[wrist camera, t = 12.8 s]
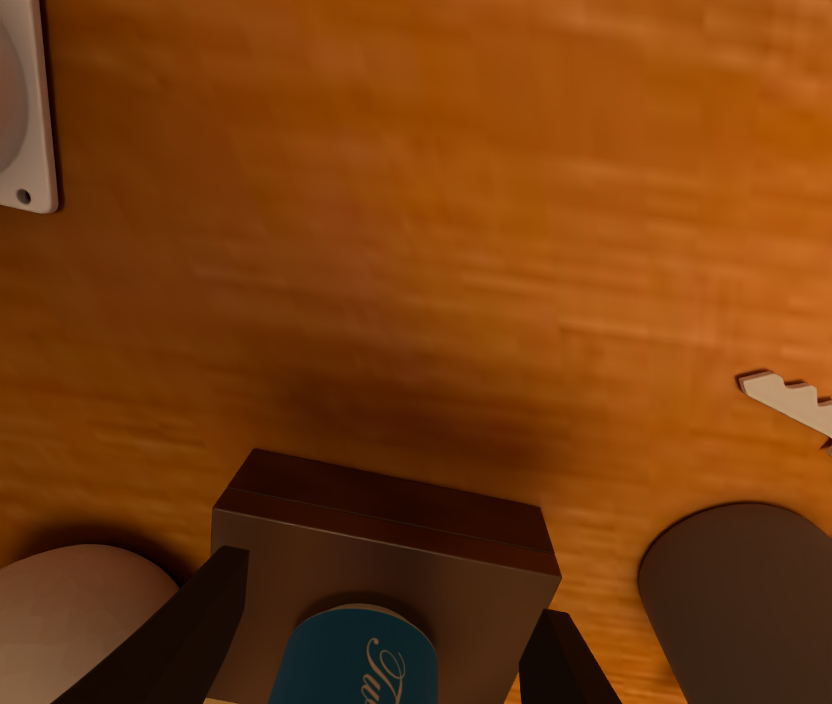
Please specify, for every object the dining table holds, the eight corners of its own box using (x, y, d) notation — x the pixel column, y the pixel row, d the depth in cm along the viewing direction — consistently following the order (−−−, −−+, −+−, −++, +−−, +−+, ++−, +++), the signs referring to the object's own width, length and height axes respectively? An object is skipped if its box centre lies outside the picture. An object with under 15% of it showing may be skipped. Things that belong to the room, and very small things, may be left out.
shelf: (239, 620, 25) (203, 698, 21) (253, 448, 20) (211, 507, 16) (476, 665, 25) (482, 750, 21) (540, 507, 21) (563, 578, 17)
